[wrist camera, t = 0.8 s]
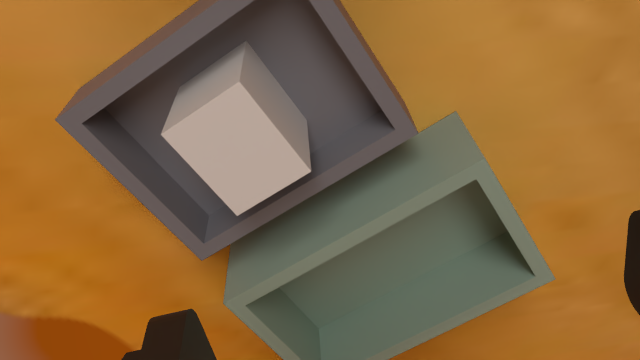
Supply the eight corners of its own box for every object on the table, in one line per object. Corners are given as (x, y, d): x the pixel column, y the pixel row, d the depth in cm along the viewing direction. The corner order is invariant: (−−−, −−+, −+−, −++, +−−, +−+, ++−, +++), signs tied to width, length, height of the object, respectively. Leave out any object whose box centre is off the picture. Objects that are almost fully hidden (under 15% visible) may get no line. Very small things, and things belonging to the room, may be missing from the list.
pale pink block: (246, 40, 26) (239, 81, 22) (306, 120, 28) (311, 171, 24) (179, 86, 27) (160, 134, 23) (243, 160, 29) (237, 216, 25)
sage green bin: (456, 111, 30) (484, 158, 25) (521, 222, 34) (555, 279, 30) (230, 243, 33) (223, 303, 29) (314, 329, 38) (318, 392, 33)
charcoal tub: (294, -71, 25) (296, -57, 22) (404, 102, 29) (418, 133, 26) (79, 88, 28) (54, 119, 25) (209, 221, 33) (201, 260, 30)
